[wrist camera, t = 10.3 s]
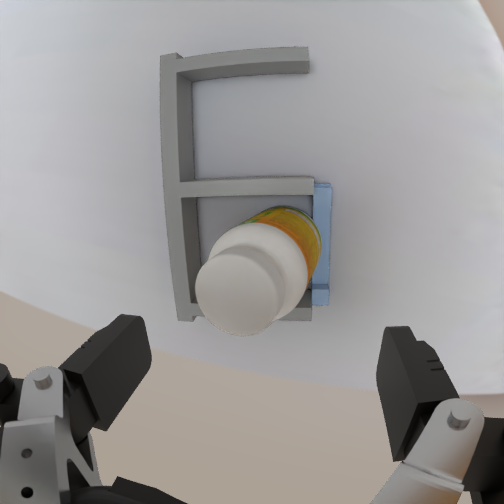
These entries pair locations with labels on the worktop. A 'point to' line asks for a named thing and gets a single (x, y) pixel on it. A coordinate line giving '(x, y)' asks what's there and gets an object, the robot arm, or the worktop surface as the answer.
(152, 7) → the worktop surface
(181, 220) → the grey two-tier shelf
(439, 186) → the worktop surface
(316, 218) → the light blue flat bar
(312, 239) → the supplement bottle
